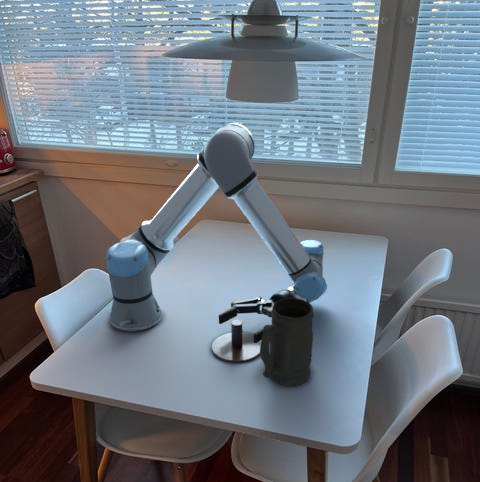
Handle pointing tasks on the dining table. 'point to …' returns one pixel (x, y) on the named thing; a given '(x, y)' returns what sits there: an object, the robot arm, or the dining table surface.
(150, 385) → the dining table surface
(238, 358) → the lid
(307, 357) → the beer stein
